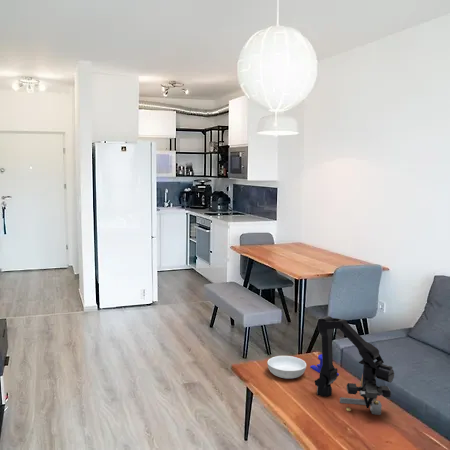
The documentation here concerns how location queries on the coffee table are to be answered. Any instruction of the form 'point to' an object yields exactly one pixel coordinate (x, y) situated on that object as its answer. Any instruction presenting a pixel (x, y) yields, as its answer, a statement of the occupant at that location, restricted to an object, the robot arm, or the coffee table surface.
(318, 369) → the mount
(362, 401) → the hole plate
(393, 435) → the coffee table surface
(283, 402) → the coffee table surface
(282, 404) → the coffee table surface
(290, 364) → the serving bowl
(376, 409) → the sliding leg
